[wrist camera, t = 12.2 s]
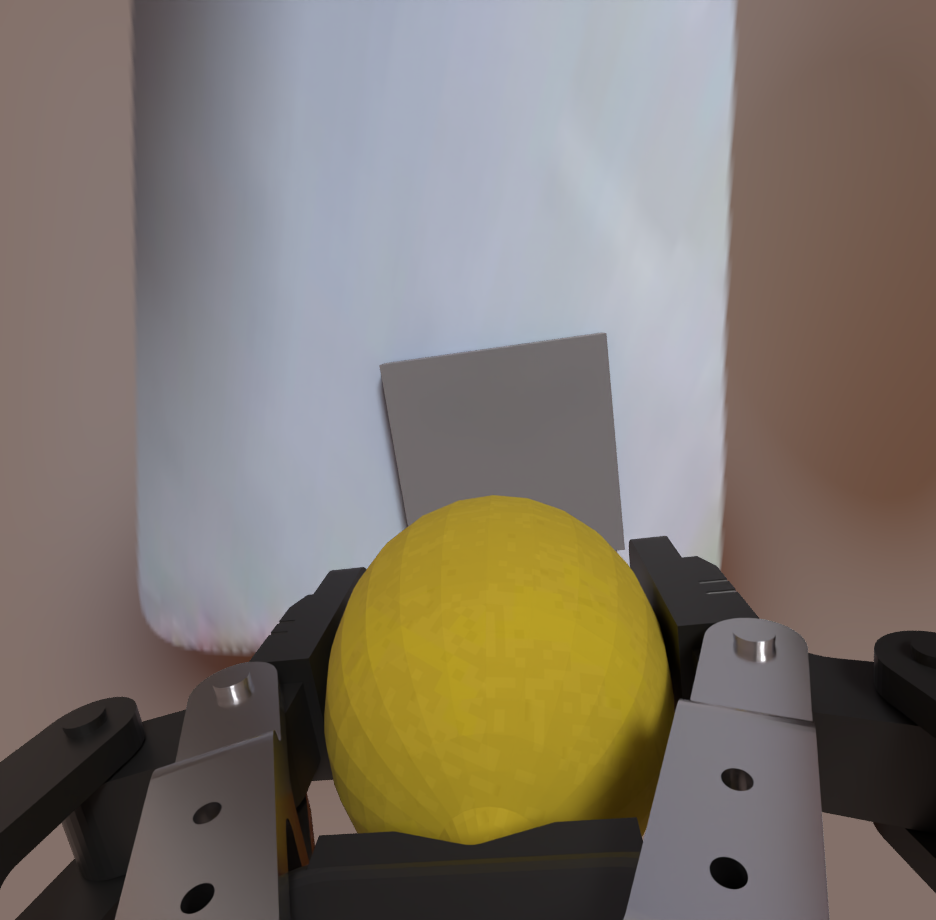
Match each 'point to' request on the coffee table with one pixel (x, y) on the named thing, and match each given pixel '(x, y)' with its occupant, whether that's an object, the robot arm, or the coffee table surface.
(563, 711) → the lemon
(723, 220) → the coffee table surface
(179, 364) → the coffee table surface
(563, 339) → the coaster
